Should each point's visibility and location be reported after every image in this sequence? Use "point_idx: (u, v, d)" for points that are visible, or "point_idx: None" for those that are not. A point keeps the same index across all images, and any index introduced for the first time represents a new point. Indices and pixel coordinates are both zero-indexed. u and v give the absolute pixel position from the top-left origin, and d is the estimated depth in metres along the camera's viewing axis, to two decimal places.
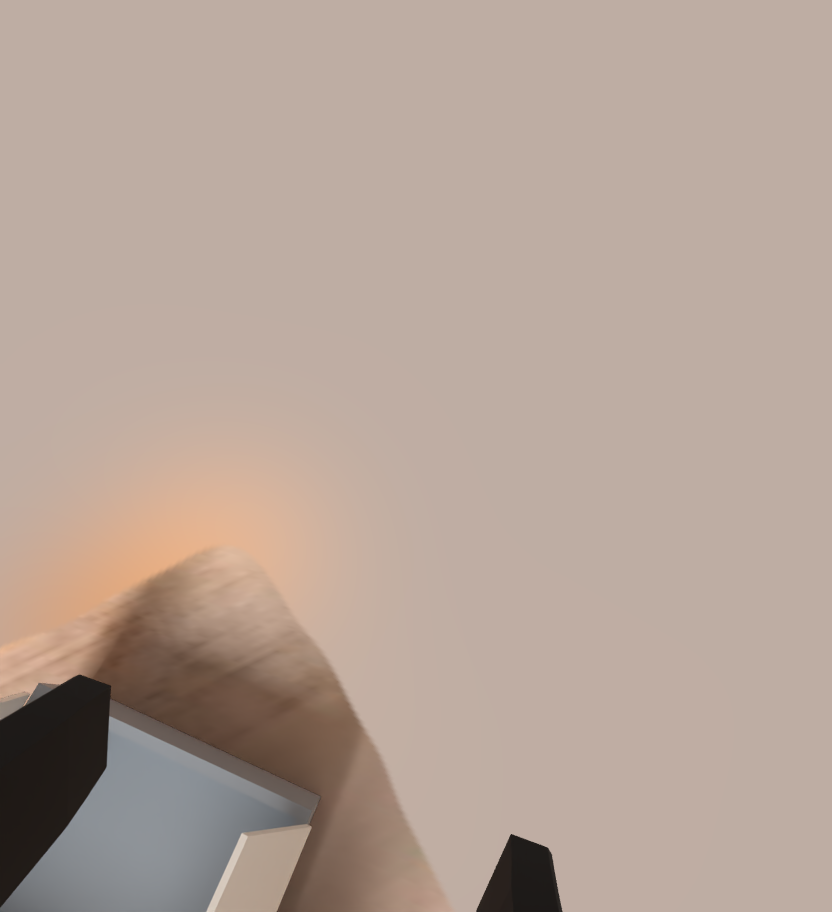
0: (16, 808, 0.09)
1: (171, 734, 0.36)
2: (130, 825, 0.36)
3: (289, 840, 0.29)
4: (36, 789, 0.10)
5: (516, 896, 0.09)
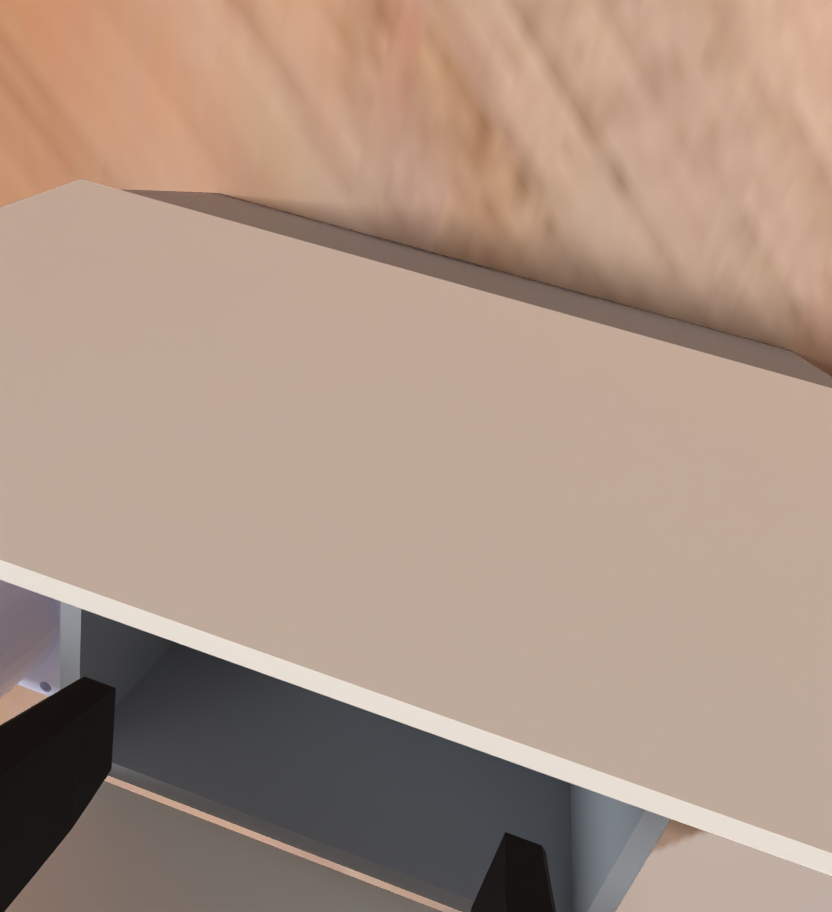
0: (21, 810, 0.09)
1: None
2: None
3: None
4: (42, 791, 0.09)
5: (510, 894, 0.09)
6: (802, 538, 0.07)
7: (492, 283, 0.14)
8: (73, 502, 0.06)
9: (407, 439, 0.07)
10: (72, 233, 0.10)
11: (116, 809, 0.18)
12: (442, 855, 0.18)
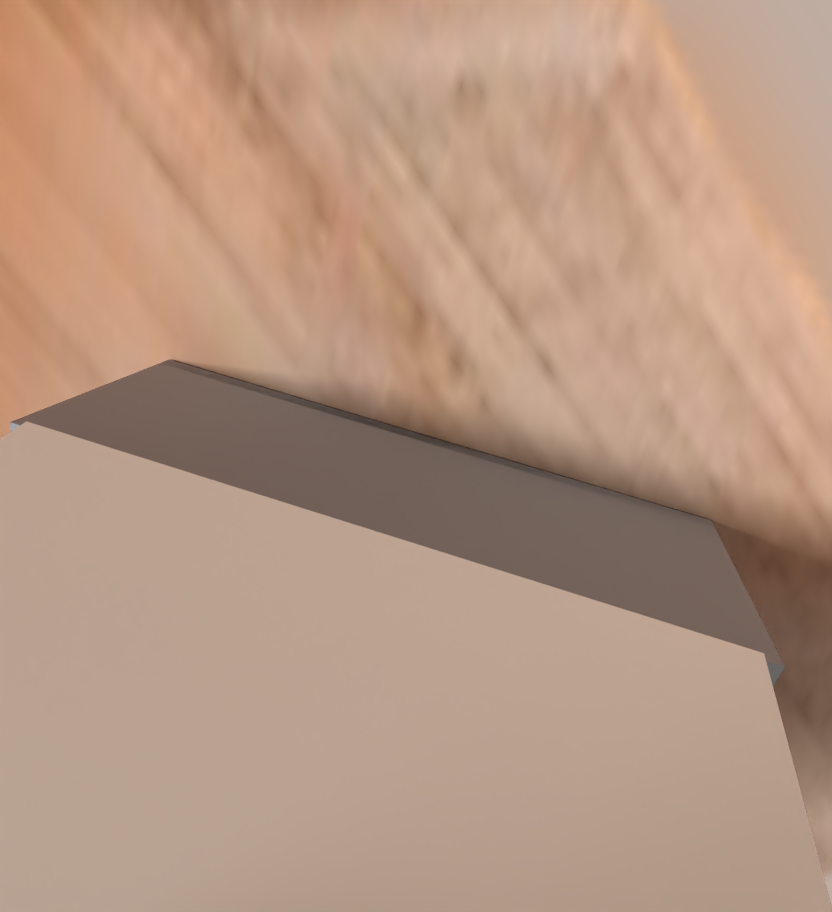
0: None
1: None
2: None
3: None
4: None
5: None
6: (654, 859, 0.08)
7: (423, 478, 0.15)
8: None
9: (299, 767, 0.08)
10: (10, 504, 0.11)
11: None
12: None
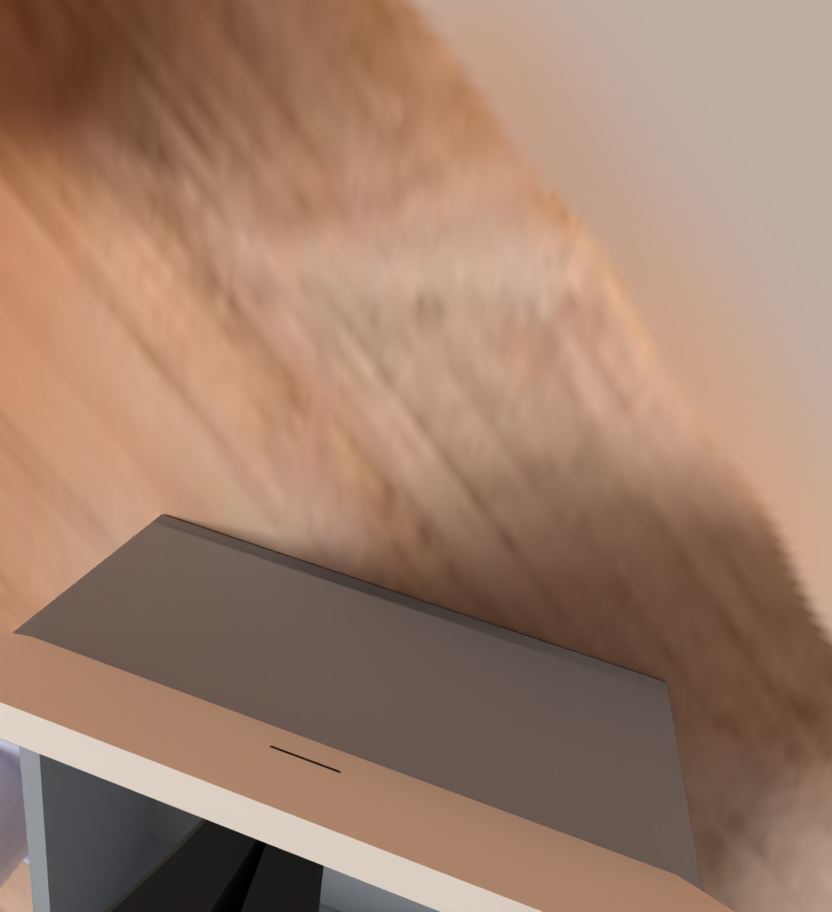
0: (240, 897, 0.09)
1: None
2: None
3: None
4: (253, 874, 0.09)
5: None
6: (631, 889, 0.09)
7: (388, 661, 0.17)
8: (82, 718, 0.07)
9: (321, 776, 0.09)
10: (34, 649, 0.12)
11: None
12: None
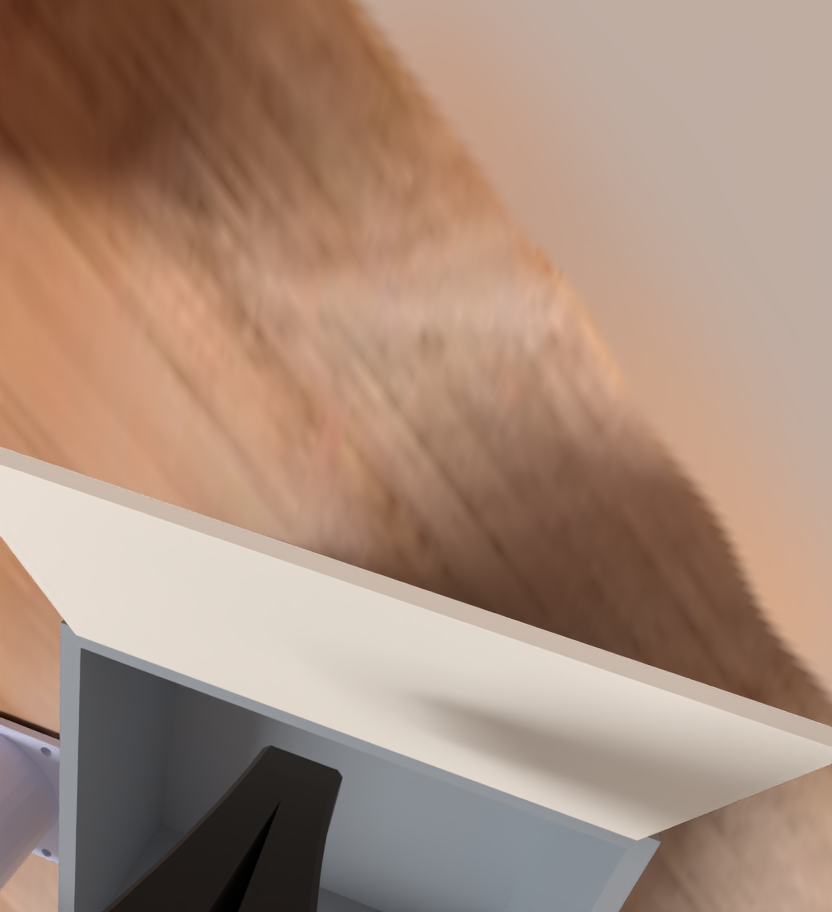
0: (238, 896, 0.09)
1: None
2: None
3: None
4: (251, 874, 0.09)
5: (284, 808, 0.09)
6: None
7: None
8: None
9: None
10: None
11: None
12: None
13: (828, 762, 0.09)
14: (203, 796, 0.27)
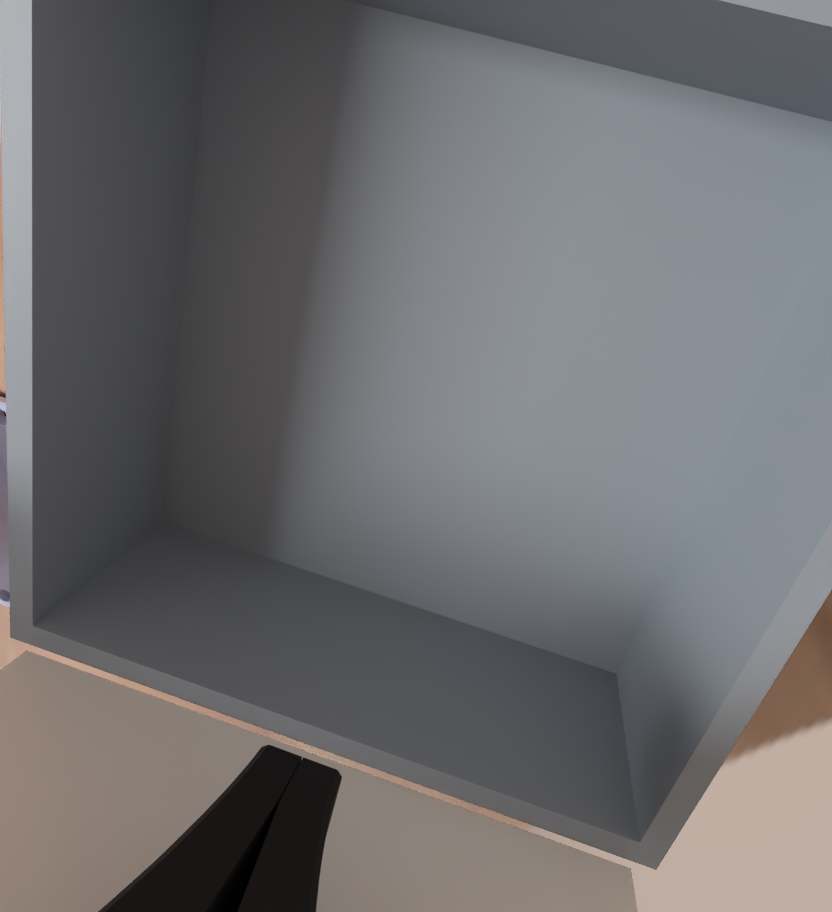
0: (236, 896, 0.09)
1: None
2: (560, 348, 0.16)
3: None
4: (249, 873, 0.09)
5: (284, 808, 0.09)
6: None
7: None
8: None
9: None
10: None
11: (78, 696, 0.14)
12: (477, 751, 0.15)
13: None
14: (223, 462, 0.19)
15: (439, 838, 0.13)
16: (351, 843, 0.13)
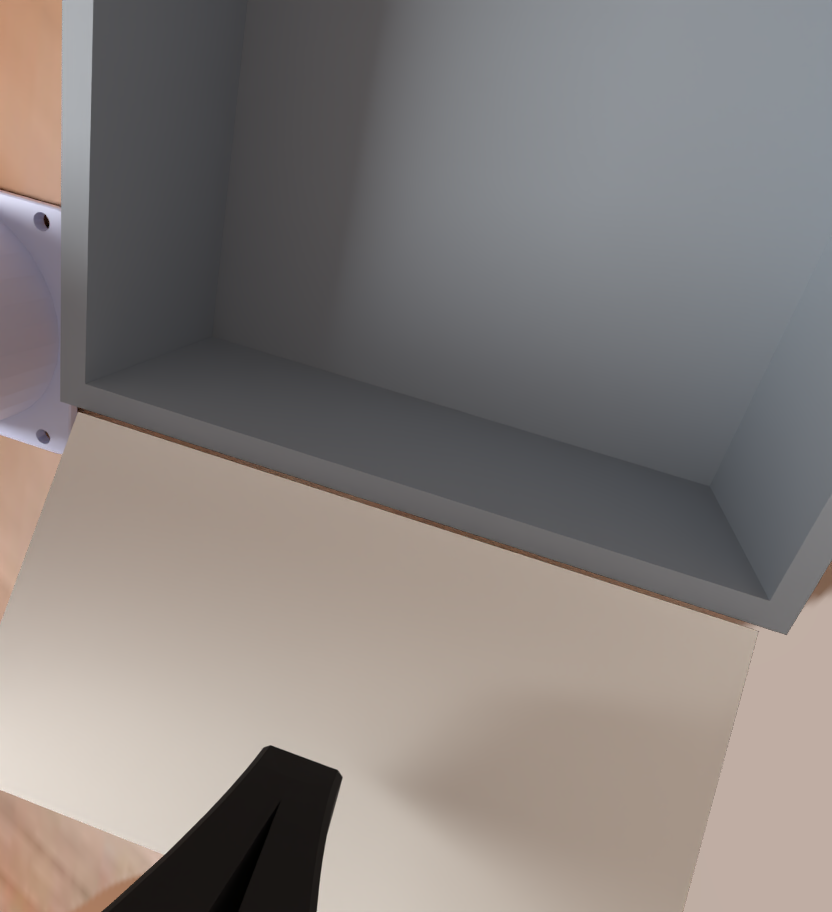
0: (238, 896, 0.09)
1: None
2: (664, 84, 0.14)
3: None
4: (251, 874, 0.09)
5: (284, 808, 0.09)
6: None
7: None
8: None
9: None
10: None
11: (145, 470, 0.14)
12: (576, 519, 0.13)
13: None
14: (281, 259, 0.18)
15: (531, 609, 0.13)
16: (436, 621, 0.13)
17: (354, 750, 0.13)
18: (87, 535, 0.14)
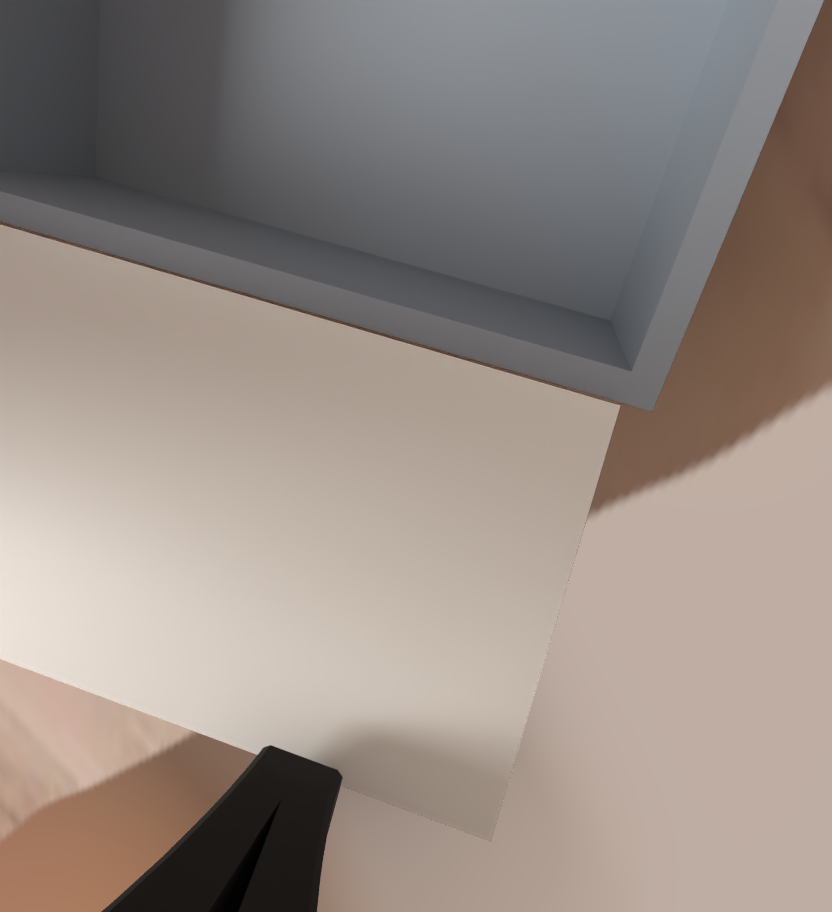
0: (238, 897, 0.09)
1: None
2: None
3: None
4: (251, 874, 0.09)
5: (284, 808, 0.09)
6: None
7: None
8: None
9: None
10: None
11: None
12: (438, 306, 0.13)
13: None
14: (159, 82, 0.17)
15: (379, 389, 0.12)
16: (279, 403, 0.12)
17: (189, 540, 0.12)
18: None
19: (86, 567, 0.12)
